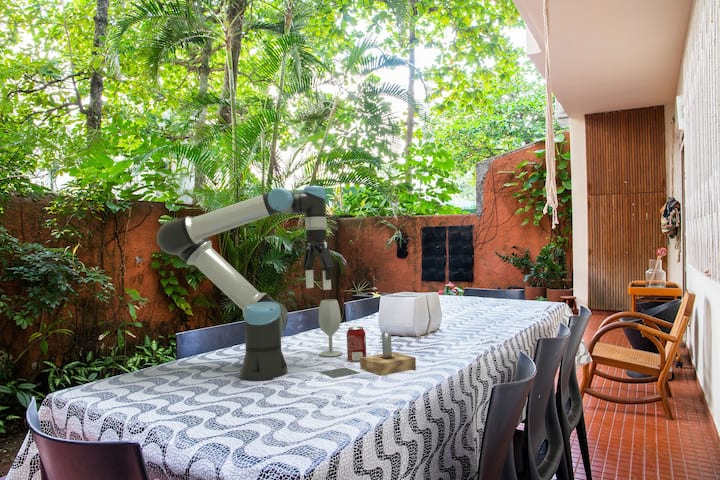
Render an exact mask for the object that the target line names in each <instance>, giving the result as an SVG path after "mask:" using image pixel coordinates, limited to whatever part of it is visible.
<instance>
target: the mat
mask: <svg viewBox="0 0 720 480" xmlns="http://www.w3.org/2000/svg"><path fill="white" fill-rule="evenodd" d="M318 373H320V374H322V375H325V376H327V377H329V378H332V379H338V378H341V377H347V376H352V375H357V374H358V375H359V374H361V372H360V371H356V370H354V369H351V368H348V367H340V368H334V369H328V370H322V371H319V372H318Z"/></svg>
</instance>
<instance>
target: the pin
mask: <svg viewBox="0 0 720 480" xmlns="http://www.w3.org/2000/svg"><path fill="white" fill-rule="evenodd" d="M381 346H382V349H381V350H382V354H383V359H385V360H387V359H392V352H393V351H392V333H391V332H382V333H381Z"/></svg>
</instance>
